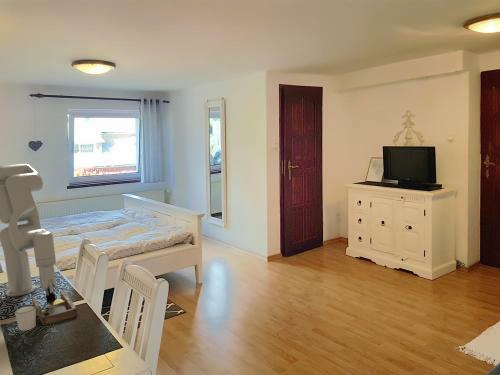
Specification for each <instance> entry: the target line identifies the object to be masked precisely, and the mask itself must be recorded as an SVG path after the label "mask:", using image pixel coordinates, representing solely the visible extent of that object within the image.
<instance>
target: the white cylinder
mask: <svg viewBox="0 0 500 375" xmlns="http://www.w3.org/2000/svg"><path fill="white" fill-rule="evenodd" d="M14 314H15V315H14V316H15V319H16V324H17V326H18V329H19V330H18V331H24V332H25V331H30V330H32V329H34V328H35V327H36V326H37V320H36V319H37V318H36V317H37V316H36V315H37V313H36V309H35V307H34V306H33V305H27V306H23V307H21V308H18V309H16V310H15V311H14Z"/></svg>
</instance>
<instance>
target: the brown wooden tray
mask: <svg viewBox="0 0 500 375" xmlns="http://www.w3.org/2000/svg"><path fill="white" fill-rule="evenodd" d="M59 293H60V294H59V295H60V299H62V300H63V301H65V307H67V308H68V309H66V310H65V311H62V312H58V313H55V314H51V315H48V314H47V315H45V314H44V312H43V311H42V308H41V306H40V304H39V302H38V300H37V298H36V297H35V296H34V297H31V303H32V306H34V307H35V309H36V315H37V316H38V318H39V320H40V323H41V325H42V326H43V325H44V326H46V325H50V324H53V323H56V322H60V321H64V320H68V319H71V318H74V317H77V316H78V310H77V309H78V308H77V307H76V306H75V305H74V303H73V302H72V300H71V299H70V298H69V296H68V295H67V294H66V293H65V292H64V290H63V289H62V290H59Z"/></svg>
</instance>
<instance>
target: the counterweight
mask: <svg viewBox="0 0 500 375" xmlns="http://www.w3.org/2000/svg"><path fill="white" fill-rule="evenodd" d="M65 310H67V308H66V306H65V307H64V306H61V307H58V308H54V309H48V310H47V313H48V314H47V315H51V314H55V313H58V312H62V311H65Z"/></svg>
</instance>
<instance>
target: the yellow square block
mask: <svg viewBox="0 0 500 375" xmlns="http://www.w3.org/2000/svg"><path fill="white" fill-rule="evenodd" d="M47 306H48V310H50V309H54V308H58V307H61V306H64V307H65V308H66V304H65V301H63V300H62V299H61V298H57V299H55V300H54V301H51V302H48V304H47Z"/></svg>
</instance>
